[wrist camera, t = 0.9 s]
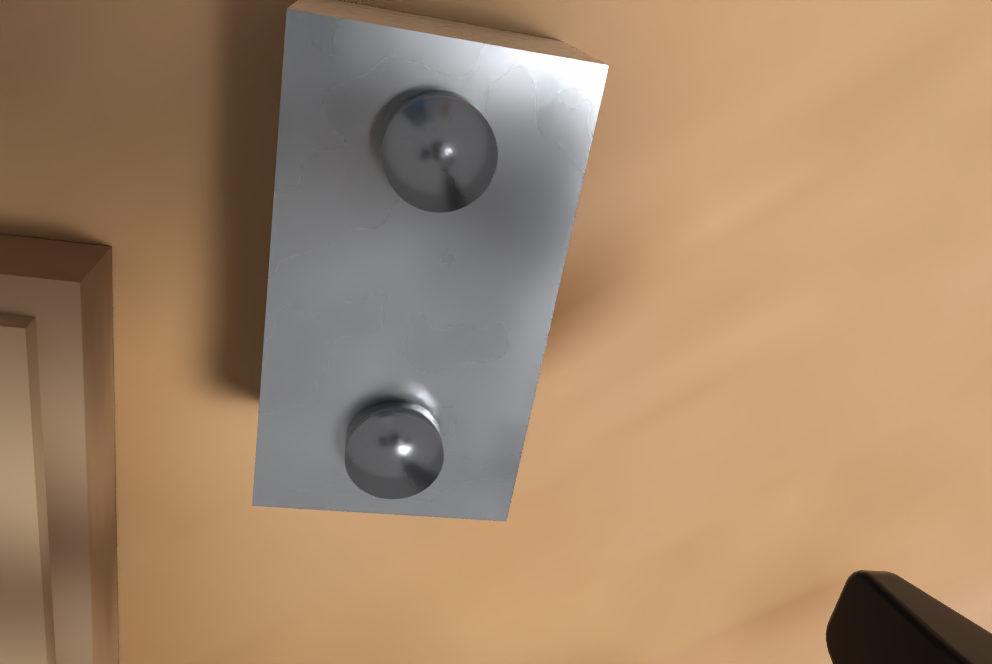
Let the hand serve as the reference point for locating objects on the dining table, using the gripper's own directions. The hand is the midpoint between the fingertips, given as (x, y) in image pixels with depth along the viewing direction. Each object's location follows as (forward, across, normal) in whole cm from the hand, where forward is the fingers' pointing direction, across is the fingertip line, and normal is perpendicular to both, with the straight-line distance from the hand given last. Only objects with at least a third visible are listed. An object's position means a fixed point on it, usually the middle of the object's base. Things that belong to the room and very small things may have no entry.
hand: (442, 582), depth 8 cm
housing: (+11, 0, 0) cm, 11 cm away
